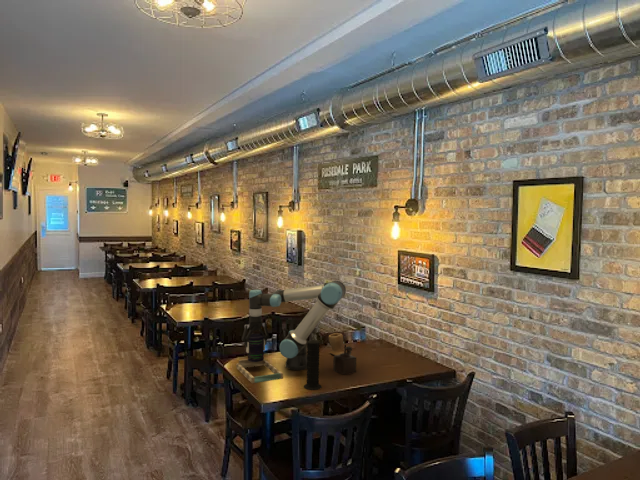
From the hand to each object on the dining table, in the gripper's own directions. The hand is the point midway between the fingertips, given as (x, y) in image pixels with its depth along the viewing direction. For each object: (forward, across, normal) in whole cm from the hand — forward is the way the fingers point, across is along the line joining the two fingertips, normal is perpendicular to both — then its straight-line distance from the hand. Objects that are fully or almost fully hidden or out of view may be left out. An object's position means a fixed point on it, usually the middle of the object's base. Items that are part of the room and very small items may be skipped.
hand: (255, 351), depth 290 cm
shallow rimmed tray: (+12, 0, +7) cm, 13 cm away
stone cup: (+13, -61, -5) cm, 63 cm away
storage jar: (+5, 0, 0) cm, 5 cm away
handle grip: (+12, -19, +41) cm, 46 cm away
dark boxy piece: (+13, -48, +28) cm, 57 cm away
